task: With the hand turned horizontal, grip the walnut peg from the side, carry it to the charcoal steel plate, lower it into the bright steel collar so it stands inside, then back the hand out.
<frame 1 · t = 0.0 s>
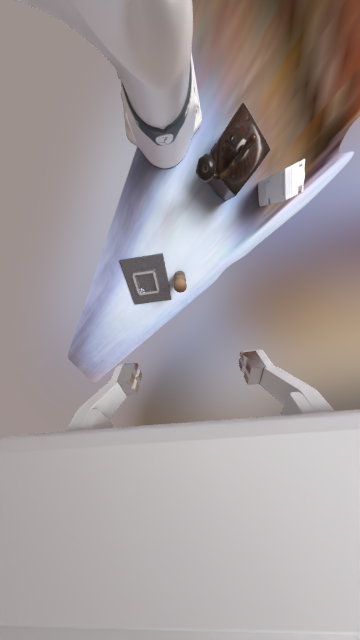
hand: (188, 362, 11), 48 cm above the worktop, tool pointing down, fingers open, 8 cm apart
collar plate: (147, 280, 56), on the worktop
skincare box: (265, 192, 42), on the worktop
manual coffee grinder: (219, 178, 40), on the worktop
walnut peg: (179, 276, 55), on the worktop
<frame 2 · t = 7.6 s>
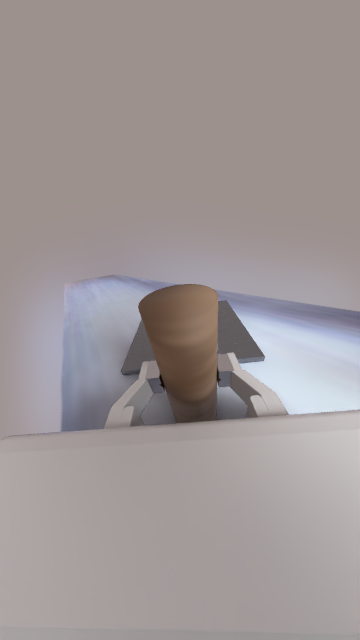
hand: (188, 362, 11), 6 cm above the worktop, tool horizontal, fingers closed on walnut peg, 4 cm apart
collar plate: (187, 330, 25), on the worktop
walnut peg: (195, 410, 14), on the worktop, touching gripper
when the fingers open (8 cm above the worktop, at t = 14.9 s): walnut peg stays where it is, resting on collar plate.
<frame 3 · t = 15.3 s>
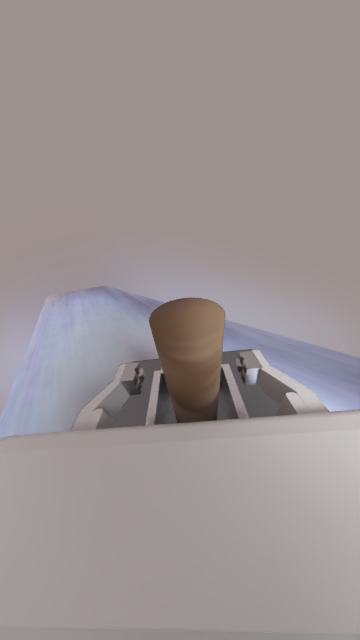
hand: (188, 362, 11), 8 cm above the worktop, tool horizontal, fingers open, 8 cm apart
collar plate: (196, 418, 15), on the worktop
walnut peg: (196, 415, 14), point 1 cm above the worktop, touching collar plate
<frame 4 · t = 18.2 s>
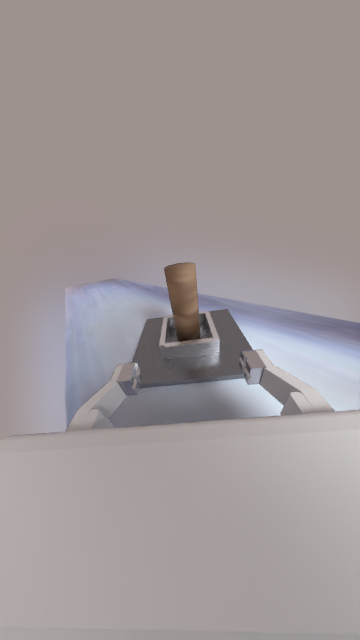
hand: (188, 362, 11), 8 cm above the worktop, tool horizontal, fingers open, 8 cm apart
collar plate: (189, 341, 25), on the worktop
walnut peg: (188, 337, 24), point 1 cm above the worktop, touching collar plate
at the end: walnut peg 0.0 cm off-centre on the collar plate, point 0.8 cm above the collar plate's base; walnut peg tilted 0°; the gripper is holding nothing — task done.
